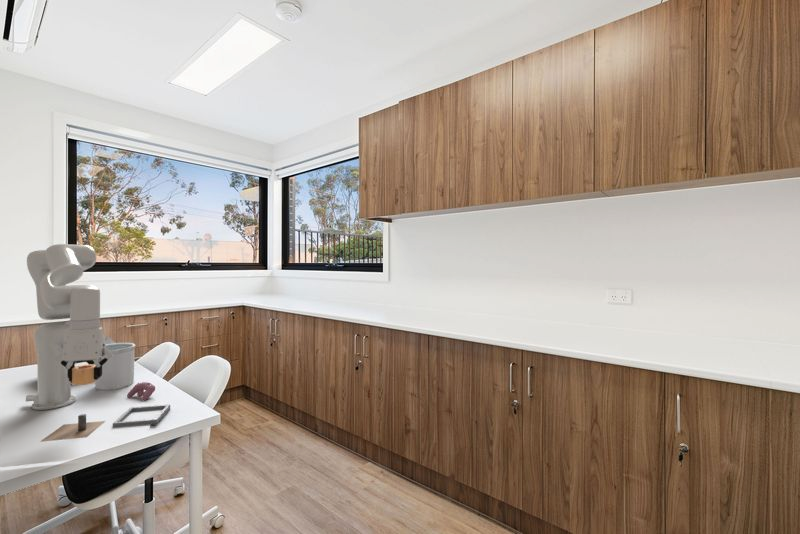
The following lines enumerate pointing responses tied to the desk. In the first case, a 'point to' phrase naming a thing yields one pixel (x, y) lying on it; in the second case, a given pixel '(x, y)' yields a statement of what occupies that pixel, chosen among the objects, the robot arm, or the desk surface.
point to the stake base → (74, 430)
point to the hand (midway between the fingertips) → (85, 378)
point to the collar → (83, 374)
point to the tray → (140, 422)
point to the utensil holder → (117, 367)
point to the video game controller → (142, 390)
